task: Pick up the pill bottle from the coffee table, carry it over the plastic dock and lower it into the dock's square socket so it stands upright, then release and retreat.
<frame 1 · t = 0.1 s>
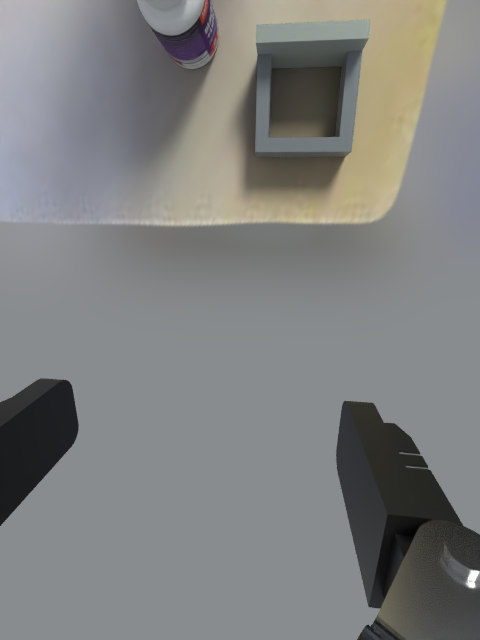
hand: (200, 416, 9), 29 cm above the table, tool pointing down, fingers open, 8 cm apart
dock: (303, 107, 32), on the table
pill bottle: (192, 38, 31), on the table
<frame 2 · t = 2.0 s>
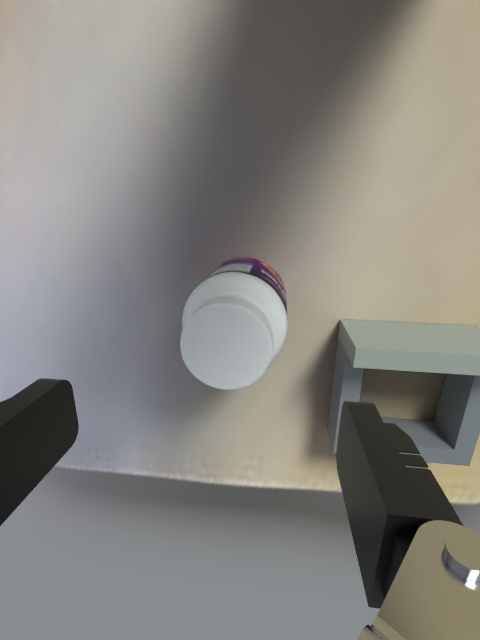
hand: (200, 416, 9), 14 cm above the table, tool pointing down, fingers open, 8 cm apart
dock: (396, 380, 23), on the table
pill bottle: (247, 292, 23), on the table
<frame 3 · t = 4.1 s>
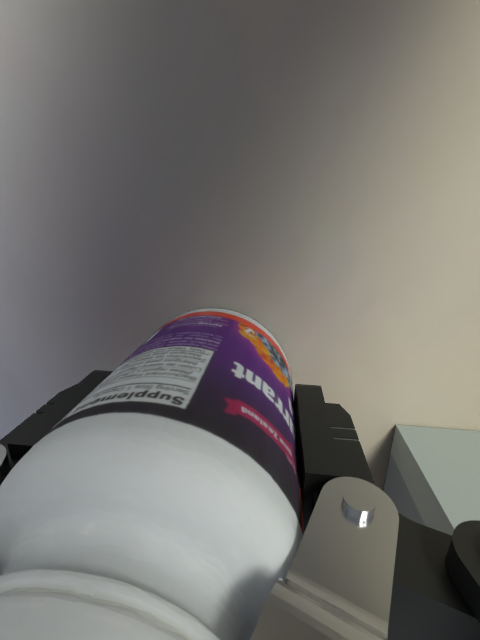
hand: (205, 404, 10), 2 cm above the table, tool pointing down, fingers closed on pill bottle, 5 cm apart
pill bottle: (218, 371, 12), on the table, touching gripper
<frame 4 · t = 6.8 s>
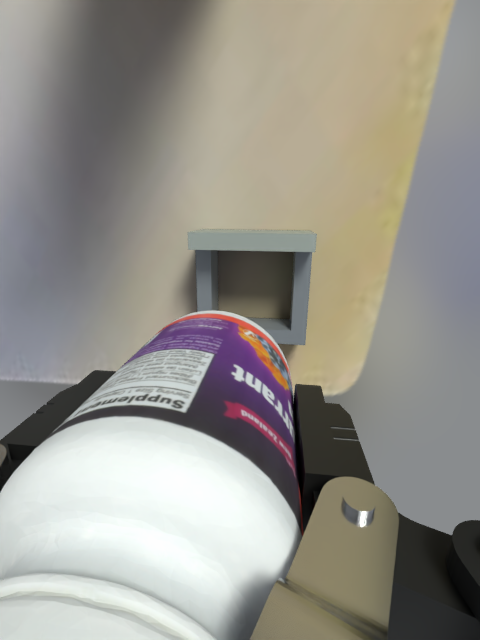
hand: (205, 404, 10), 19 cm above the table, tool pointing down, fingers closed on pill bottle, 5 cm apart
dock: (254, 282, 28), on the table
pill bottle: (218, 373, 12), point 17 cm above the table, touching gripper
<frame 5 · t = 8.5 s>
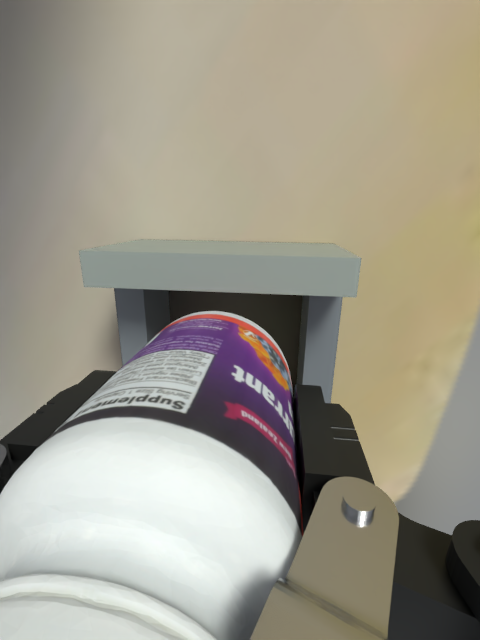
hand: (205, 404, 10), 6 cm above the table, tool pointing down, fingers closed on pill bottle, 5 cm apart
dock: (233, 332, 16), on the table
pill bottle: (218, 374, 12), point 4 cm above the table, touching gripper
when the fingers open (4 cm above the table, at t = 9.8 s): pill bottle drops 2 cm, resting in dock.
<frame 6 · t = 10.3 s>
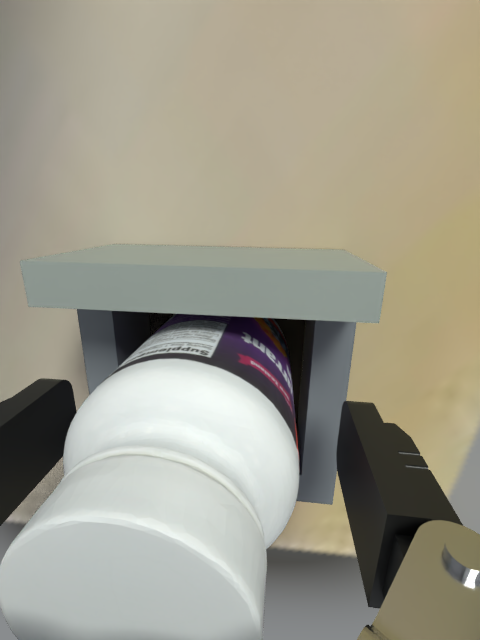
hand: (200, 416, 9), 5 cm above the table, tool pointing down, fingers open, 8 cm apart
dock: (225, 353, 14), on the table
pill bottle: (226, 351, 14), resting in dock
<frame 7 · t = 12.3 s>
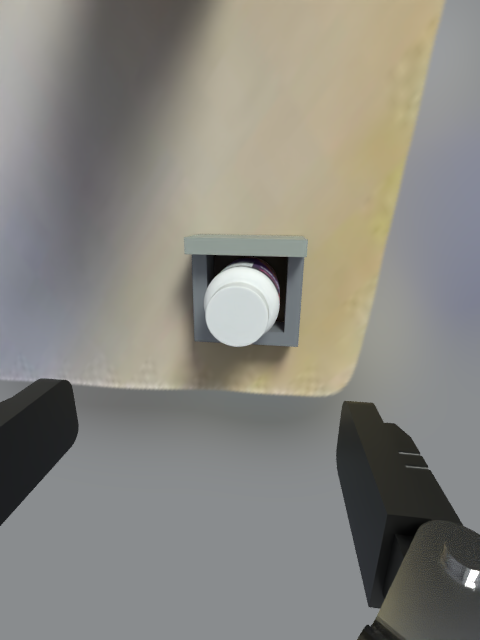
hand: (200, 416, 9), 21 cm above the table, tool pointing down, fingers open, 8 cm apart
dock: (249, 285, 29), on the table
pill bottle: (249, 285, 29), resting in dock
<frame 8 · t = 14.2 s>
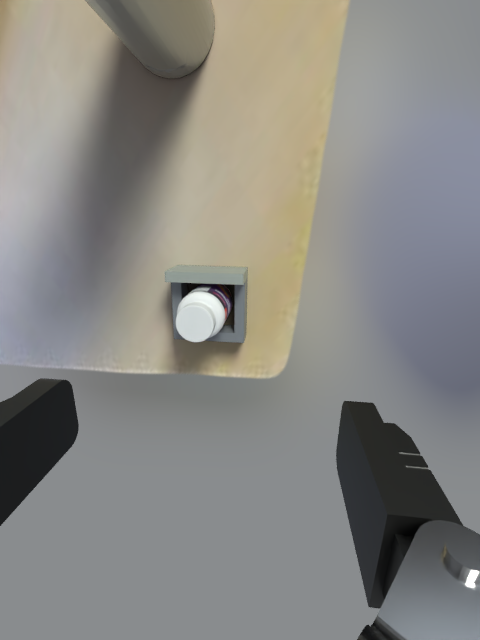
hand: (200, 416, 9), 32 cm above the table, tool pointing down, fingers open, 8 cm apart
dock: (212, 300, 42), on the table
pill bottle: (213, 299, 42), resting in dock
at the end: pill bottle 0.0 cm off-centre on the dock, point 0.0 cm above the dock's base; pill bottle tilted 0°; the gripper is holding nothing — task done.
